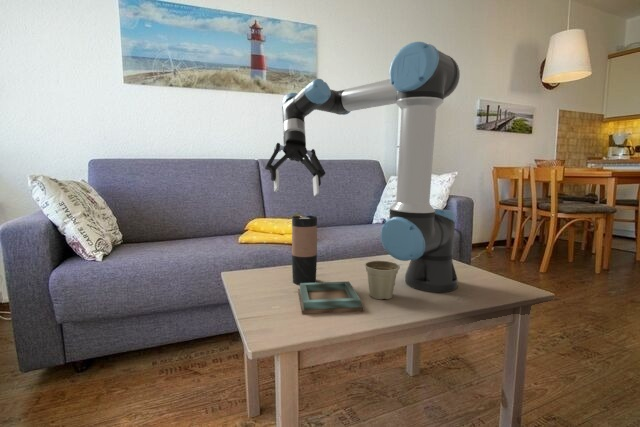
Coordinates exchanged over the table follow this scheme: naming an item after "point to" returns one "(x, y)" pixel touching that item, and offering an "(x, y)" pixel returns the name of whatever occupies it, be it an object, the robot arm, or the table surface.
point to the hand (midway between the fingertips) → (297, 192)
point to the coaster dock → (328, 297)
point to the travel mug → (304, 249)
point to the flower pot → (381, 278)
